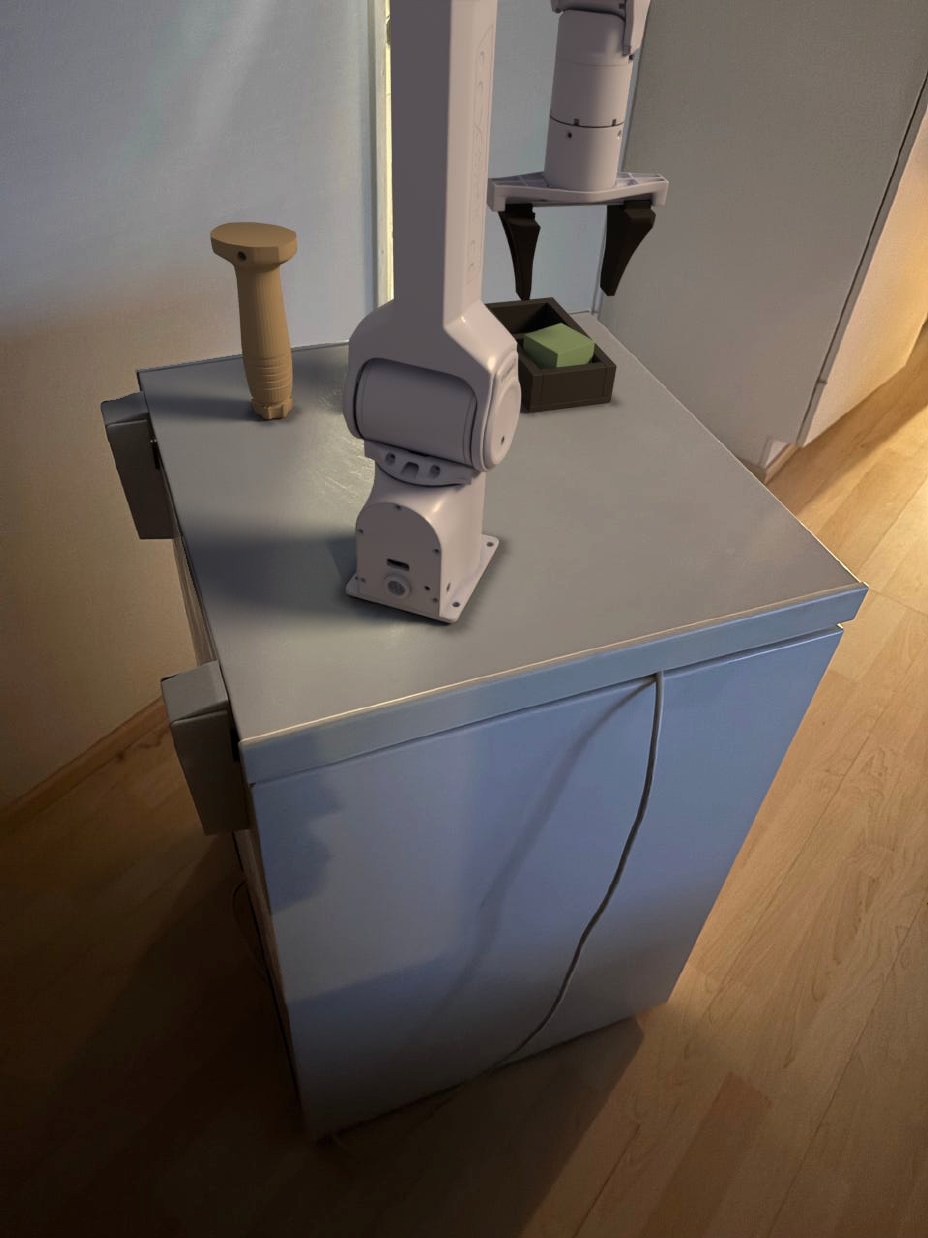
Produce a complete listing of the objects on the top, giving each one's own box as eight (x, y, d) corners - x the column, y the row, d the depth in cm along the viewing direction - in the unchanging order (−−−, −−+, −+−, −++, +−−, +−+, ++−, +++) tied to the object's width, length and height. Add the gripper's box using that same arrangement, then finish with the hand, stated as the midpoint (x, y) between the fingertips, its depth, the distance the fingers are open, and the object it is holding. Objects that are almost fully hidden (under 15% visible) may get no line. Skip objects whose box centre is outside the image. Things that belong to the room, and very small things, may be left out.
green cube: (589, 382, 82) (595, 341, 79) (552, 395, 80) (557, 353, 77) (556, 362, 85) (561, 322, 82) (520, 375, 82) (524, 334, 80)
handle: (298, 431, 75) (281, 251, 65) (227, 419, 76) (199, 239, 66) (318, 404, 78) (305, 228, 68) (250, 393, 79) (227, 218, 69)
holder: (529, 412, 79) (532, 375, 77) (475, 338, 89) (477, 303, 87) (610, 402, 81) (617, 365, 79) (548, 331, 91) (552, 296, 89)
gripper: (656, 103, 72) (627, 271, 81) (481, 104, 69) (472, 278, 78) (691, 127, 67) (657, 303, 76) (504, 130, 64) (492, 312, 73)
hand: (565, 293), depth 77 cm, fingers open, 7 cm apart
